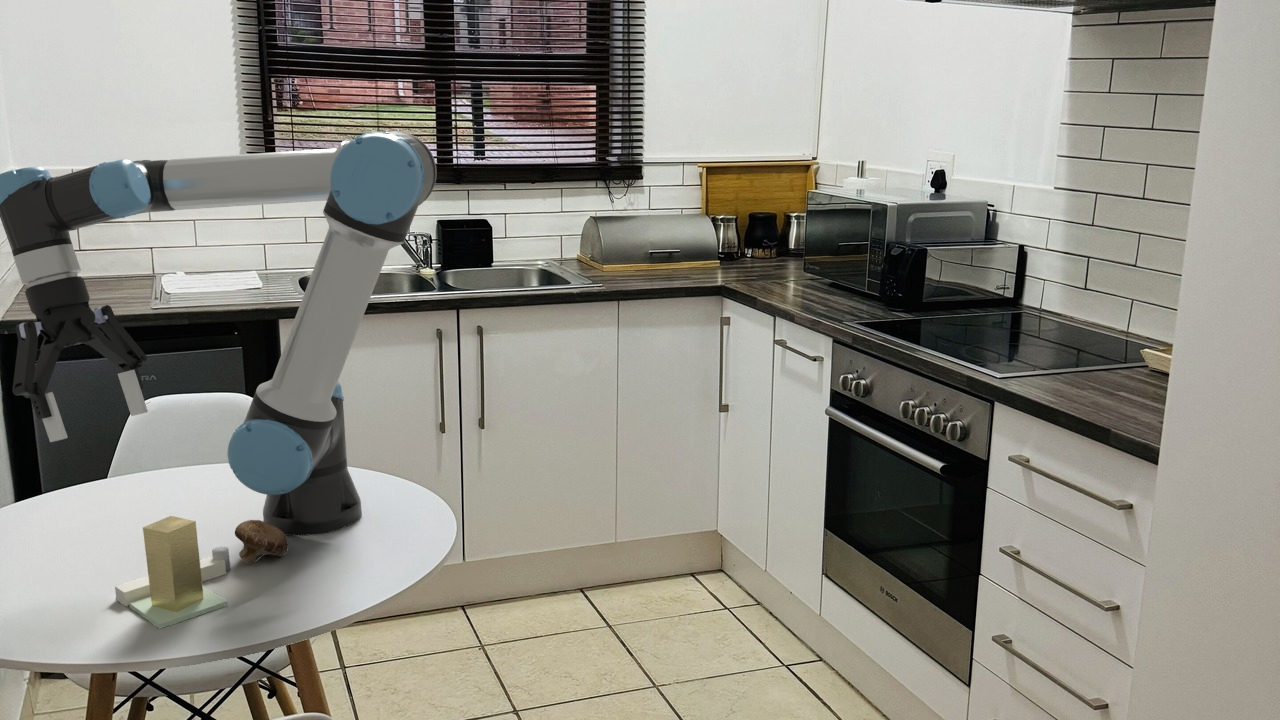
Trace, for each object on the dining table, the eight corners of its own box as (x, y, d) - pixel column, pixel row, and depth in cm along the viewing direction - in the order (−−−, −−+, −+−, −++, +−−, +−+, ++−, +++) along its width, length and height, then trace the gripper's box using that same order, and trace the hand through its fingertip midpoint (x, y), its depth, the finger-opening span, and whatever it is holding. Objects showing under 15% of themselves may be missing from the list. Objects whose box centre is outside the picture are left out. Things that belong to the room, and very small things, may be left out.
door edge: (224, 565, 158) (222, 544, 157) (234, 571, 156) (232, 550, 155) (116, 599, 147) (113, 577, 147) (125, 606, 145) (123, 584, 145)
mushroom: (224, 553, 154) (244, 512, 156) (223, 554, 162) (241, 514, 163) (278, 574, 156) (297, 533, 158) (274, 574, 164) (292, 535, 166)
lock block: (179, 592, 148) (170, 515, 146) (203, 598, 146) (195, 521, 144) (151, 605, 144) (142, 527, 142) (176, 612, 142) (167, 532, 140)
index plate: (195, 585, 151) (195, 581, 151) (227, 605, 146) (226, 601, 145) (130, 607, 145) (129, 603, 145) (159, 628, 139) (159, 624, 139)
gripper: (109, 273, 165) (152, 408, 167) (-50, 301, 142) (3, 456, 145) (143, 262, 161) (187, 400, 164) (-14, 289, 139) (39, 447, 142)
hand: (101, 426), depth 154 cm, fingers open, 13 cm apart
